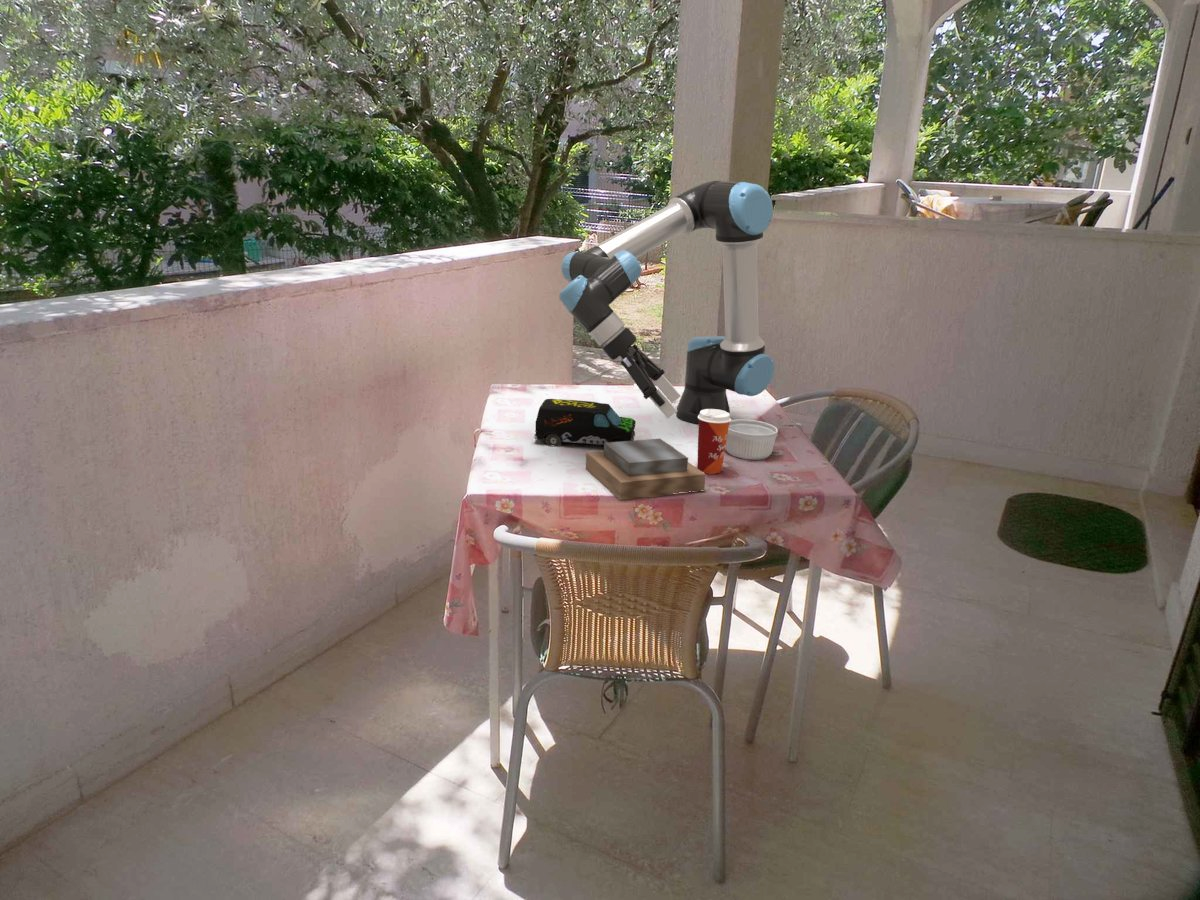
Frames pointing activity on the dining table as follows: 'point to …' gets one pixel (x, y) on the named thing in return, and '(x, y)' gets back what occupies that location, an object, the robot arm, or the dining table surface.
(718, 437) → the paper cup
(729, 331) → the robot arm
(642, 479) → the two-tone square platform
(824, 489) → the dining table surface
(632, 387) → the dining table surface
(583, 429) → the toy van
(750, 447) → the ramekin
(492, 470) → the dining table surface
